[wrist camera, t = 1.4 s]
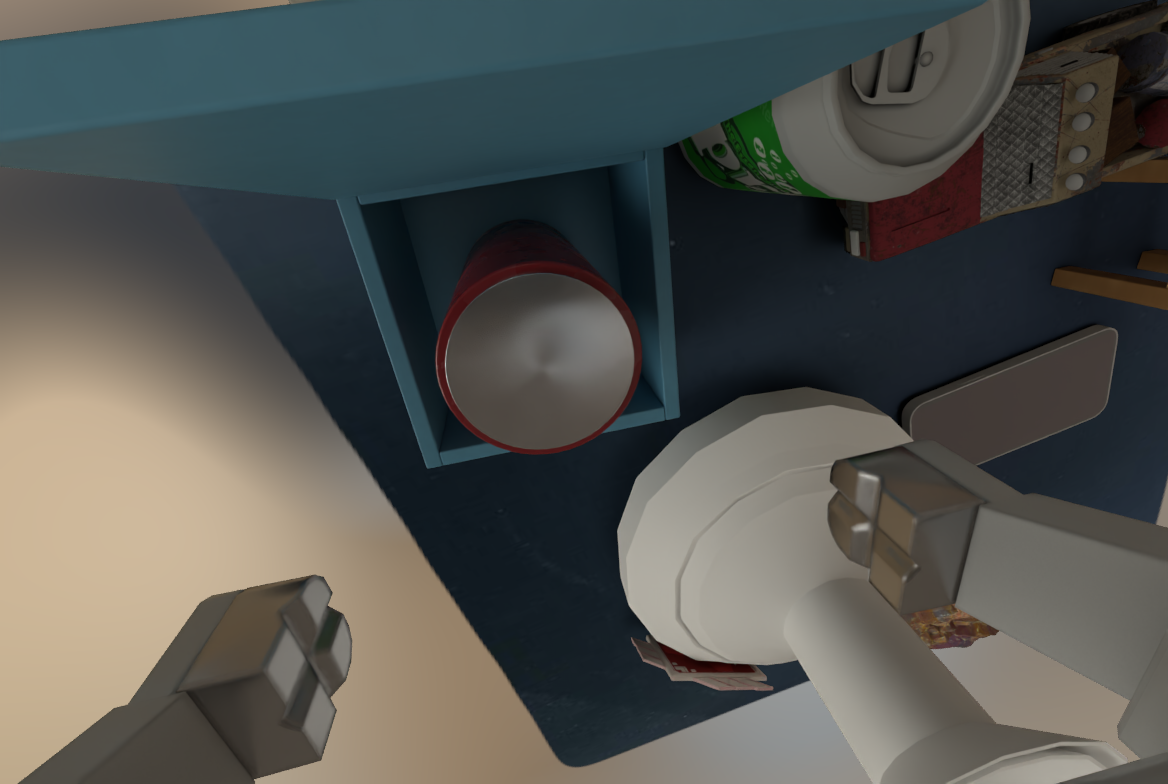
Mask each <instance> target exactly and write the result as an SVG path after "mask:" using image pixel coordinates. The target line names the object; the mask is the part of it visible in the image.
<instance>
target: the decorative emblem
mask: <svg viewBox="0 0 1168 784" xmlns="http://www.w3.org/2000/svg"><path fill="white" fill-rule="evenodd" d="M631 640H632V642H633V644H634V646H636V648H637V650H638V652H639V653H640V656H641V658H642V660H643V661H644V662H647V663H649V664H652V665H655V666H657V667H660V668H662V669H665V670H666V672H667V673H668V675H669V677H670V678H671V680H672V681H696V682H698V683H701V684H703V685H706V686H709V687H711V688H714V689H717V690H753V689H754V690H773V687H772V686H769V685H766V684H763V683H760V682H757V681H767V677H766V676H765V675H764V674H763V673H762V672H761V671H760V670H759V669H758V668H757V667H756V666H755V665H754V664H737V663H724V662H717V661H697V660H695V659H693V658H691V657H689V656H687V655H685V654H683V653H681V652H679V651H677V650H675V649H673V648H671V647H669V646H667V645H665V644H662V643H660V642H658V641H656V639H655V638H654V637H653V636H652V635H646V640H647V641H648V643H647V642H644V641H641V640H638V639H635V638H633V637H631Z"/></svg>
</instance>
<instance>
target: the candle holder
mask: <svg viewBox="0 0 1168 784" xmlns="http://www.w3.org/2000/svg"><path fill="white" fill-rule="evenodd" d="M913 441H914V440H913V439H912V438H911V437H910V436H909V435H908V434H907V433H906V432H905V431H904V430H903V429H902V428H901V427H900V426H899V425H898V424H897V423H896V422H895V421H894V420H893V419H892V418H891V417H889V416H888V415H886V414H885V413H883V412H881V411H880V410H878V409H877V408H875V407H874V406H872V405H871V404H869V403H867V402H866V401H864V400H863V399H860V398H856V397H851V396H846V395H842V394H837V393H833V392H828V391H823V390H819V389H814V388H809V387H802V388H795V389H788V390H781V391H775V392H768V393H761V394H754V395H747V396H741V397H740V398H738V399H736V400H734V401H733V402H731V403H729V404H727V405H726V406H724V407H722V408H720V409H719V410H717V411H715V412H713V413H712V414H710V415H708V416H706V417H705V418H703V419H701V420H699V421H698V422H696V423H694V424H692V425H691V426H689V427H687V428H685V429H683V430H682V431H681V432H680V433H679V434H678V435H677V436H676V437H675V438H674V439H673V440H672V441H671V442H670V443H669V444H668V445H667V446H666V447H665V448H664V449H663V450H662V452H661V453H660V454H659V455H658V456H657V457H656V458H655V459H654V460H653V461H652V462H651V463H650V464H649V465H648V466H647V467H646V468H645V469H644V470H643V471H642V472H641V474H640V475H639V476H638V477H637V478H636V480H635V483H634V485H633V488H632V491H631V494H630V497H629V499H628V502H627V505H626V508H625V510H624V513H623V516H622V519H621V521H620V524H619V527H618V530H617V533H618V548H619V562H620V577H621V580H622V584H623V587H624V590H625V594H626V597H627V601H628V604H629V607H630V608H631V609H632V610H633V612H634V613H635V614H636V615H637V617H638V618H639V619H640V620H641V622H642V623H643V624H644V626H645V627H646V628H647V629H648V631H649V632H650V633H651V634H652V636H653V637H654V638H655V639H656V641H658V642H660V643H662V644H665V645H667V646H669V647H671V648H673V649H675V650H677V651H679V652H681V653H683V654H685V655H687V656H689V657H691V658H693V659H695V660H697V661H717V662H724V663H737V664H757V665H771V664H780V663H785V662H790V661H795V660H799V662H800V664H801V665H802V667H803V669H804V670H805V672H806V674H807V675H808V677H809V679H810V680H811V682H812V684H813V685H814V687H815V689H816V690H817V692H818V693H819V695H820V697H821V698H822V700H823V702H824V703H825V705H826V707H827V708H828V710H829V712H830V713H831V715H832V717H833V718H834V720H835V722H836V723H837V725H838V727H839V728H840V730H841V732H842V733H843V735H844V736H845V738H846V740H847V742H848V743H849V745H850V746H851V748H852V750H853V751H854V753H855V755H856V756H857V758H858V760H859V761H860V763H861V765H862V766H863V768H864V770H865V771H866V773H867V775H868V776H869V778H870V780H871V781H872V783H873V784H1056V783H1060V782H1063V781H1067V780H1070V779H1074V778H1077V777H1081V776H1084V775H1088V774H1091V773H1095V772H1098V771H1102V770H1105V769H1109V768H1112V767H1116V766H1119V765H1123V764H1126V763H1128V759H1127V758H1126V757H1125V756H1124V755H1123V754H1122V753H1120V752H1119V751H1118V750H1116V749H1115V748H1114V747H1112V746H1111V745H1110V744H1108V743H1107V742H1103V741H1097V740H1091V739H1086V738H1080V737H1074V736H1067V735H1061V734H1055V733H1049V732H1043V731H1037V730H1031V729H1025V728H1019V727H1013V726H1007V725H1001V724H996V722H994V720H993V719H992V718H991V717H990V716H989V715H988V714H987V712H986V711H985V710H984V709H983V708H982V707H981V706H980V704H979V703H978V702H977V701H976V700H975V699H974V698H973V697H972V696H971V694H970V693H969V692H968V691H967V690H966V689H965V688H964V687H963V686H962V684H960V682H959V681H958V680H957V679H956V678H955V677H954V676H953V674H952V673H951V672H950V671H949V670H948V669H947V667H946V666H945V665H944V664H943V663H942V662H941V661H940V660H939V659H938V657H937V656H936V655H935V654H934V653H933V652H932V651H931V650H930V648H929V647H928V646H927V645H926V644H925V643H924V642H923V641H922V639H921V638H920V637H919V636H918V635H917V634H916V633H915V632H914V630H913V629H912V628H911V627H910V626H909V625H908V624H907V623H906V622H905V620H904V619H903V618H902V617H901V616H900V615H899V614H898V613H897V612H896V611H895V610H894V609H893V608H892V607H891V606H890V605H889V603H888V602H887V601H886V600H885V599H884V598H883V597H882V596H881V595H880V594H879V593H878V591H877V590H876V589H875V588H874V587H873V586H872V585H871V584H870V583H869V582H868V568H866V567H863V566H861V565H859V564H857V563H854V562H852V561H850V560H849V559H848V558H847V557H846V556H845V555H844V554H843V552H842V551H841V550H840V549H839V548H838V546H837V544H836V542H835V541H834V539H833V537H832V535H831V532H830V528H829V525H828V522H827V509H828V503H829V501H830V500H831V499H832V497H833V496H834V494H835V493H836V492H837V490H836V488H835V487H834V486H833V485H832V484H831V483H830V472H831V467H832V466H833V464H834V462H835V460H839V459H843V458H847V457H852V456H856V455H861V454H865V453H870V452H874V451H878V450H883V449H887V448H893V447H894V446H896V445H900V444H905V443H909V442H913Z"/></svg>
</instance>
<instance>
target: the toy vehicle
mask: <svg viewBox="0 0 1168 784" xmlns="http://www.w3.org/2000/svg"><path fill="white" fill-rule="evenodd" d="M1167 153H1168V2H1166V3H1163V4H1161V5H1158V6H1157V0H1152V1H1151V0H1150V1H1147V2H1142V3H1139V4H1134V5H1131V6H1127V7H1123V8H1120V9H1117V10H1113V11H1110V12H1107V13H1103V14H1100V15H1097V16H1094V17H1091V18H1088V19H1085V20H1082V21H1079V22H1077V23H1074V24H1072V25H1069V26H1067V27H1065V28H1064V29H1063V37H1062V42H1059V43H1057V44H1054V45H1051V46H1049V47H1046V48H1044V49H1041V50H1038V51H1036V52H1033V53H1030V54H1028V55H1025V56H1024V58H1023V60H1022V63H1021V65H1020V68H1019V70H1018V73H1017V75H1016V78H1015V80H1014V83H1013V85H1012V87H1011V90H1010V92H1009V95H1008V96H1007V98H1006V99H1005V101H1004V102H1003V104H1002V105H1001V107H1000V108H999V110H998V111H997V113H996V114H995V116H994V117H993V119H992V120H991V122H990V123H989V125H988V126H987V128H986V129H985V130H984V131H983V132H981V133H980V135H979V136H978V138H977V139H976V141H975V142H974V144H973V145H972V146H971V147H970V148H969V149H968V150H967V151H966V152H965V153H964V154H963V155H962V156H961V157H960V158H959V159H958V160H957V161H956V162H955V163H954V164H952V165H951V166H950V167H949V168H948V169H947V170H946V171H945V172H944V173H943V174H942V175H941V176H939V177H937V178H936V179H934V180H932V181H930V182H929V183H927V184H925V185H923V186H922V187H920V188H918V189H916V190H915V191H913V192H911V193H909V194H907V195H903V196H898V197H894V198H889V199H885V200H880V201H876V202H863V201H852V200H841V199H836V206H837V207H839V209H840V212H841V214H842V215H843V217H844V219H845V220H846V222H847V223H845V224H844V226H843V239H844V250H845V251H846V252H848V253H851V254H850V255H851V256H854V257H857V258H860V259H863V260H866V261H869V262H872V260H873V261H881V260H884V259H887V258H890V257H893V256H895V255H898V254H901V253H904V252H906V251H909V250H912V249H915V248H917V247H920V246H923V245H925V244H928V243H931V242H933V241H936V240H938V239H941V238H944V237H946V236H949V235H951V234H954V233H957V232H959V231H962V230H964V229H967V228H970V227H972V226H975V225H977V224H980V223H983V222H985V221H988V220H991V219H993V218H996V217H999V216H1003V215H1008V214H1011V213H1016V212H1019V211H1021V212H1022V211H1024V210H1030V209H1035V208H1038V207H1040V208H1041V207H1043V206H1046V207H1047V206H1049V205H1052V204H1055V203H1057V202H1060V201H1063V200H1065V199H1068V198H1071V197H1073V196H1076V195H1079V194H1081V193H1084V192H1087V191H1089V190H1092V189H1093V188H1095V187H1098V186H1100V184H1101V179H1102V178H1103V177H1106V176H1108V175H1111V174H1114V173H1116V172H1119V171H1122V170H1125V169H1127V168H1130V167H1133V166H1135V165H1138V164H1141V163H1143V162H1146V161H1149V160H1151V159H1154V158H1157V157H1159V156H1162V155H1165V154H1167Z"/></svg>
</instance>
